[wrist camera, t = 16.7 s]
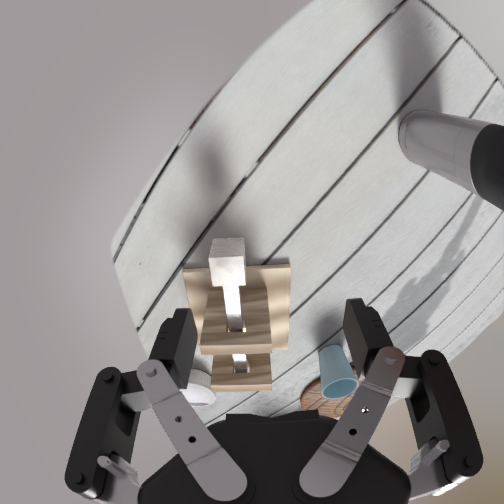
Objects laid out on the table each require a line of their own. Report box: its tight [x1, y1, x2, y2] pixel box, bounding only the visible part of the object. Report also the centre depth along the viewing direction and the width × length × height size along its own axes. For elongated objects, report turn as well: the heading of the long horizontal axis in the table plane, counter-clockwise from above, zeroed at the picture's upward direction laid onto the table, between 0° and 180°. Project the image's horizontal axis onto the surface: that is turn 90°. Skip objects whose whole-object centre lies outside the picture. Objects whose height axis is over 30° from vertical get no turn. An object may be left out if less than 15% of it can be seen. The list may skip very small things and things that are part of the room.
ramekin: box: [179, 369, 216, 407], centre depth 61 cm, size 11×11×5 cm
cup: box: [319, 345, 358, 399], centre depth 54 cm, size 8×8×10 cm
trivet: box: [301, 366, 364, 418], centre depth 67 cm, size 25×25×2 cm
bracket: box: [183, 264, 291, 392], centre depth 46 cm, size 20×18×14 cm
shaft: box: [209, 237, 248, 373], centre depth 41 cm, size 26×4×5 cm, turn 3°
